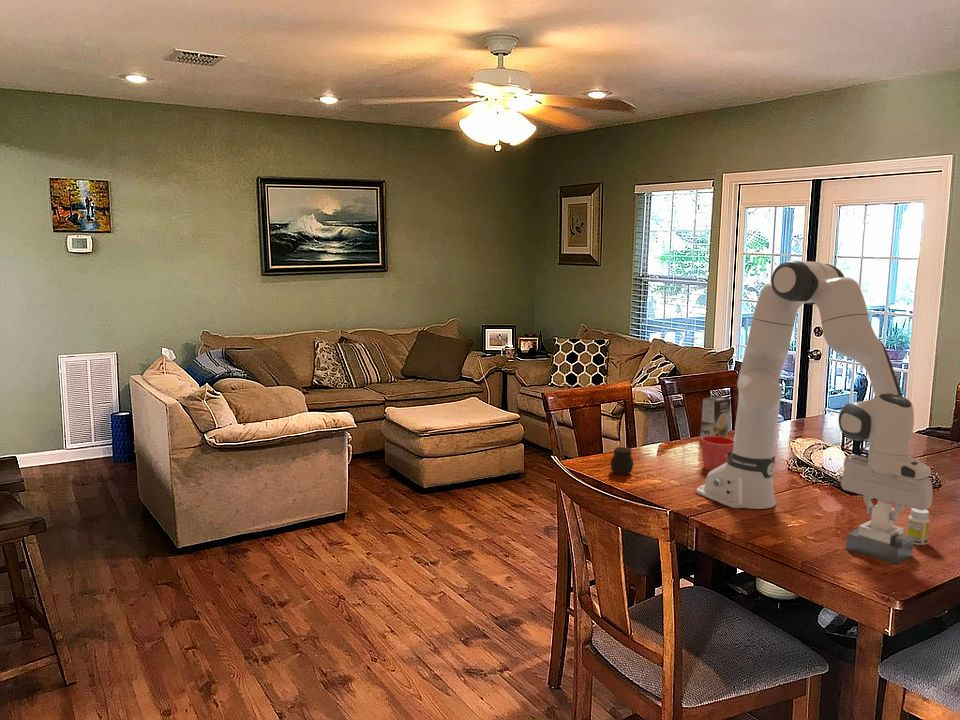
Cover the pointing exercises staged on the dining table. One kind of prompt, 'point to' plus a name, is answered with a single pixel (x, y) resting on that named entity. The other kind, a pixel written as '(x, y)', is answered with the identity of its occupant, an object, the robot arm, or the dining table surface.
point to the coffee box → (715, 417)
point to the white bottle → (882, 516)
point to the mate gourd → (622, 461)
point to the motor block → (880, 543)
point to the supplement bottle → (918, 526)
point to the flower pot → (715, 451)
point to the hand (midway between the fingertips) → (881, 516)
